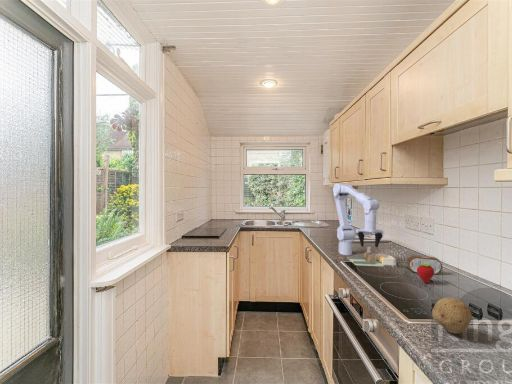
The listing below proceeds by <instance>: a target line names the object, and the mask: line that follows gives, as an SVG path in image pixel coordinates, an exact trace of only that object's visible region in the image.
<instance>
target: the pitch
mask: <svg viewBox="0 0 512 384" xmlns="http://www.w3.org/2000/svg"><path fill="white" fill-rule="evenodd" d="M380 257H385V258H382V263H380V262H379V259H380ZM346 259H348V260H349V261H350V262H351V263H353V264H354V266H363V267H364V266H367V267H368V266H369V267H385V266H397V259H396V258H395V257H394V256H391V255H390V254H387V253H385V254H384V253H383V254H382V253H375V254H374V262H367V261H366V260H365V259H364V256H352V255H347V256H346Z"/></svg>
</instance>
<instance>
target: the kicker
mask: <svg viewBox="0 0 512 384" xmlns="http://www.w3.org/2000/svg"><path fill="white" fill-rule="evenodd" d="M372 248H373V247H372V246H371V245H368V246H366V251H365V252H364V255H363V257H364V259H365V260H366V261H367V262H374V259H375V255H373V254H372V252H373V251H372V250H373V249H372Z"/></svg>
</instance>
